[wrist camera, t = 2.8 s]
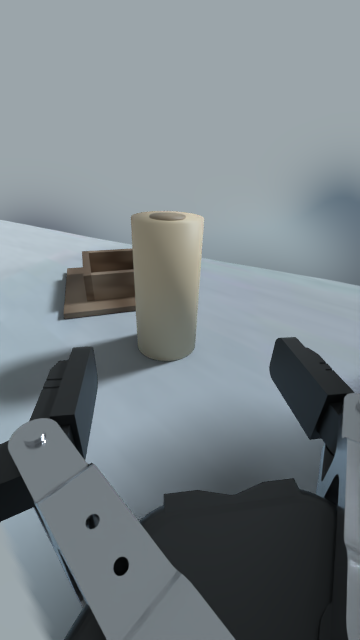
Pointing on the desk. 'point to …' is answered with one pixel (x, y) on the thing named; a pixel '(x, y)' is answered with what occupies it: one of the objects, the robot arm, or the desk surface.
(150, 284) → the paper roll
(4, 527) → the desk surface
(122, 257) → the roll stand
